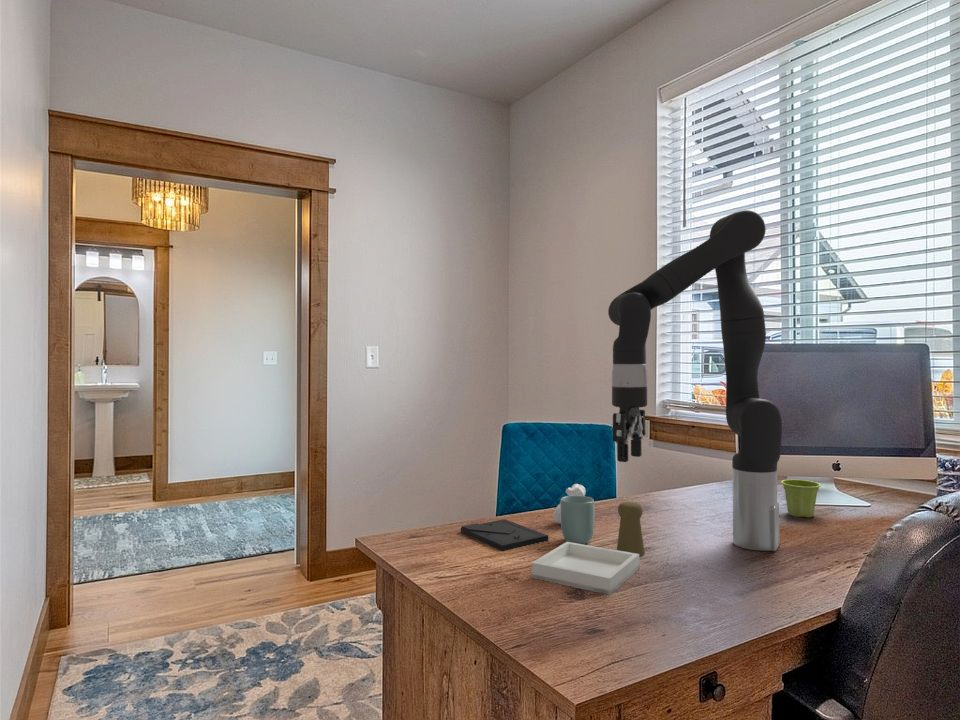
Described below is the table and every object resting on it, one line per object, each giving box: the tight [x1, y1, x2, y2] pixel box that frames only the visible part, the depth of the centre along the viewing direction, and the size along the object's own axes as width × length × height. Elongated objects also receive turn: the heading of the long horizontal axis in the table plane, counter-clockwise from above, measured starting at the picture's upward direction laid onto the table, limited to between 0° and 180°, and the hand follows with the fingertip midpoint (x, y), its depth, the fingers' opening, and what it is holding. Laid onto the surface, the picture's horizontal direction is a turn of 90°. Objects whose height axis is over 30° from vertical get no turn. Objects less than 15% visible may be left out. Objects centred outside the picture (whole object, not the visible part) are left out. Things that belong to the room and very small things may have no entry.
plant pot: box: [781, 479, 822, 519], centre depth 163 cm, size 9×9×9 cm
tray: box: [531, 541, 641, 596], centre depth 119 cm, size 16×16×3 cm
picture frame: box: [460, 519, 549, 552], centre depth 145 cm, size 13×2×18 cm
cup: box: [559, 495, 595, 545], centre depth 140 cm, size 8×8×10 cm
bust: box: [553, 483, 587, 525], centre depth 156 cm, size 12×8×11 cm
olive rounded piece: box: [616, 501, 646, 557], centre depth 132 cm, size 6×6×11 cm
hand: (629, 458), depth 132 cm, fingers open, 8 cm apart
